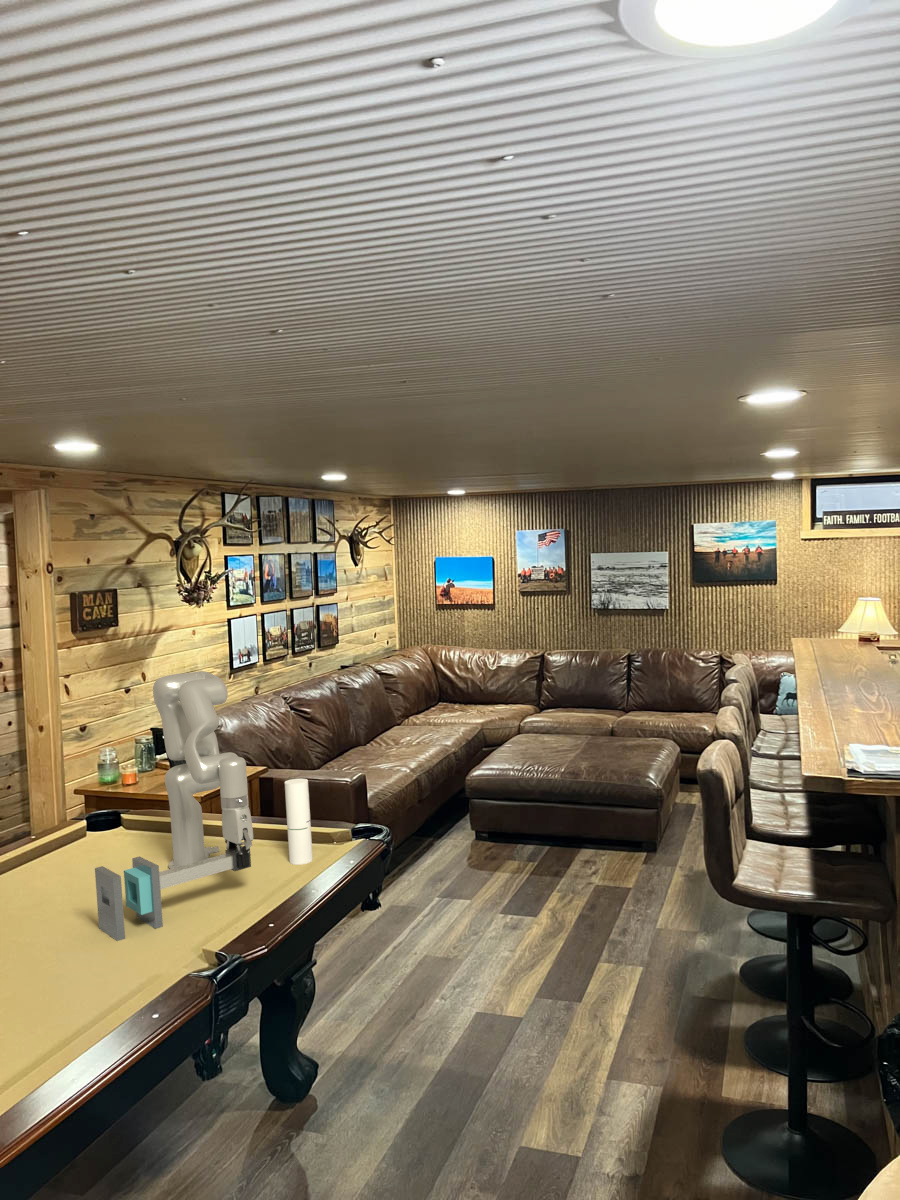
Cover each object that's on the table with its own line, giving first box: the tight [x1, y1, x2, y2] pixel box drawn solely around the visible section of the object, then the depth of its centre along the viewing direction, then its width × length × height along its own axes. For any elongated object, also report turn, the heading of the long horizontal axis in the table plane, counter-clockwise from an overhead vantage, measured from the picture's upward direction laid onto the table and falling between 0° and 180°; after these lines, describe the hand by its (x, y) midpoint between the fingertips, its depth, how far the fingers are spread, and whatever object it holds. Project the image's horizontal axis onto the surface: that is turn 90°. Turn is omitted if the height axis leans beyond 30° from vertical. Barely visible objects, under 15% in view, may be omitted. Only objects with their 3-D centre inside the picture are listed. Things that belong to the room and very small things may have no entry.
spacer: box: [123, 867, 152, 915], centre depth 241 cm, size 3×10×10 cm, turn 42°
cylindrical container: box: [284, 778, 314, 866], centre depth 286 cm, size 7×7×25 cm
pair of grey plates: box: [94, 856, 164, 942], centre depth 239 cm, size 12×12×16 cm
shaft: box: [159, 845, 252, 891], centre depth 251 cm, size 31×5×5 cm, turn 132°
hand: (238, 864), depth 260 cm, fingers closed on shaft, 5 cm apart
